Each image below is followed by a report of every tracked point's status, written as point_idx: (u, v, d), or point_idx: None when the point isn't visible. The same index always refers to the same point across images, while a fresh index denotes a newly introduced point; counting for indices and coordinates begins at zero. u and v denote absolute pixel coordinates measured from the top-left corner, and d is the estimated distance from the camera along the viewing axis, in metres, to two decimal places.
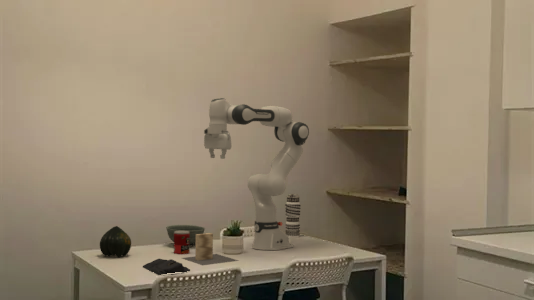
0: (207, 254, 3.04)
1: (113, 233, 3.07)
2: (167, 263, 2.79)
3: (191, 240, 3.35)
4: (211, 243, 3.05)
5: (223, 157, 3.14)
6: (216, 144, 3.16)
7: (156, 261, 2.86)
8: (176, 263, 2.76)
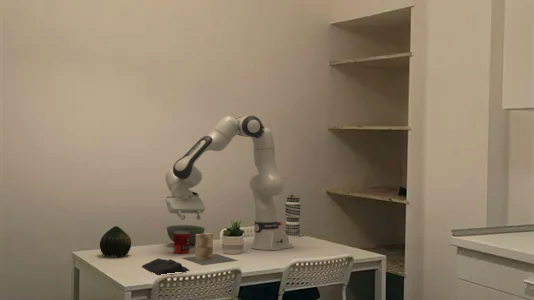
0: (207, 254, 3.04)
1: (113, 233, 3.07)
2: (166, 263, 2.79)
3: (191, 240, 3.35)
4: (211, 243, 3.05)
5: (181, 218, 3.09)
6: None
7: (155, 261, 2.86)
8: (175, 263, 2.76)
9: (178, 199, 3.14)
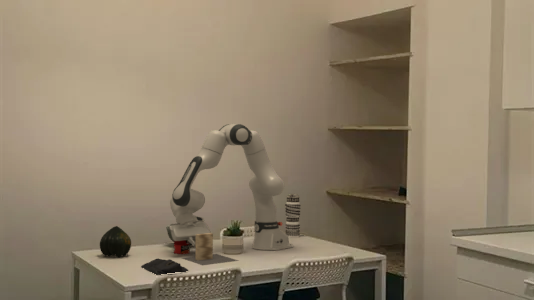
0: (207, 254, 3.04)
1: (113, 233, 3.07)
2: (165, 263, 2.79)
3: None
4: (211, 243, 3.05)
5: (193, 244, 3.09)
6: None
7: (154, 261, 2.86)
8: (174, 263, 2.76)
9: (182, 226, 3.12)
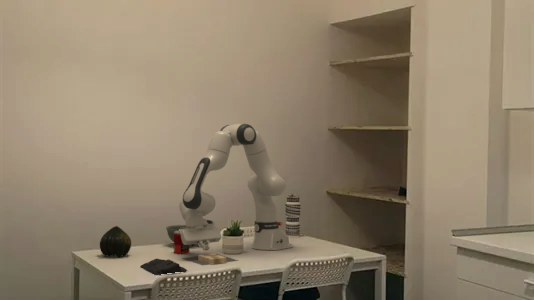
0: None
1: (113, 233, 3.07)
2: (164, 263, 2.79)
3: None
4: None
5: (203, 248, 3.01)
6: None
7: (154, 261, 2.86)
8: (173, 263, 2.75)
9: (192, 229, 3.04)
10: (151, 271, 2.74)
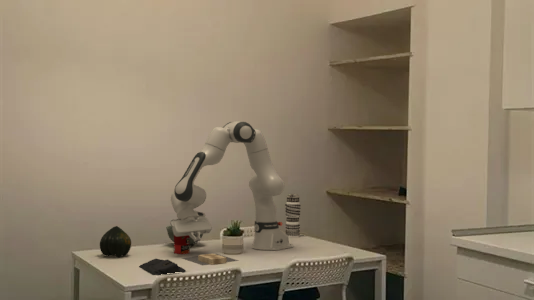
0: None
1: (113, 233, 3.07)
2: (162, 263, 2.79)
3: (191, 240, 3.35)
4: None
5: (194, 239, 3.09)
6: None
7: (152, 261, 2.86)
8: (171, 263, 2.75)
9: (183, 221, 3.11)
10: (149, 271, 2.74)
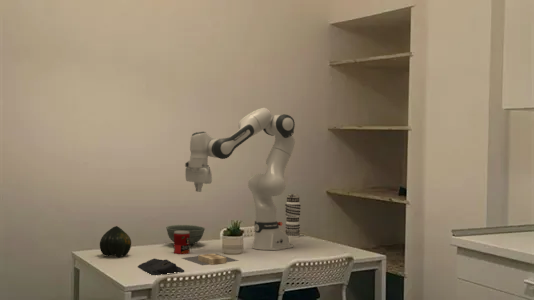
0: None
1: (113, 233, 3.07)
2: (161, 263, 2.79)
3: (191, 240, 3.35)
4: None
5: (199, 190, 3.18)
6: (197, 178, 3.17)
7: (151, 261, 2.86)
8: (170, 263, 2.75)
9: None
10: (148, 271, 2.74)
